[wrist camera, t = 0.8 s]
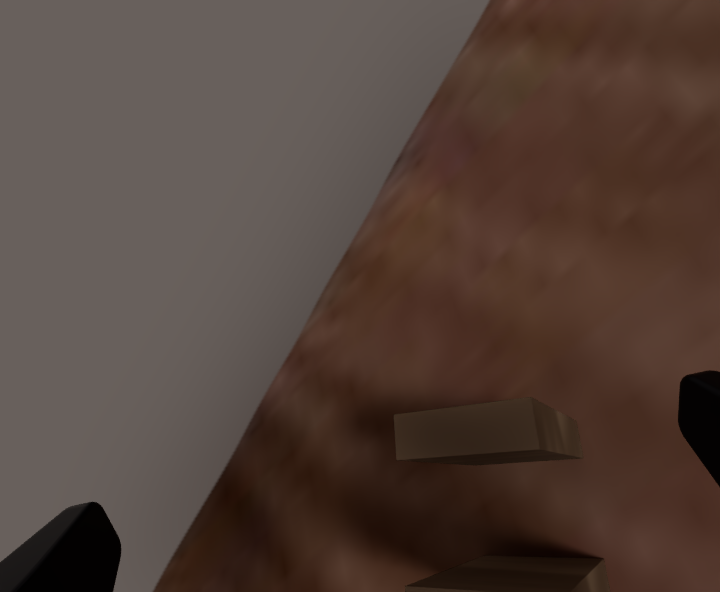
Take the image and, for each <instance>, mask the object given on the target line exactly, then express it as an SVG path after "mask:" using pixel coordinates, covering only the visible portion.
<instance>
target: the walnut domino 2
mask: <svg viewBox="0 0 720 592" xmlns="http://www.w3.org/2000/svg"><path fill="white" fill-rule="evenodd" d="M405 592H610V587H609V582H608V577H607V572H606V567H605V562H604V559H596V558H559V557H522V556H482V557H480V558H477V559H474V560H472V561H469V562H467V563H464V564H461V565H459V566H456V567H454V568H451V569H449V570H446V571H443V572H441V573H438V574H436V575H433V576H430V577H428V578H425V579H423V580H420V581H417V582H415V583H412V584H410V585H407V586H405Z"/></svg>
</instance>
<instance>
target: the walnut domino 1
mask: <svg viewBox="0 0 720 592" xmlns="http://www.w3.org/2000/svg"><path fill="white" fill-rule="evenodd" d="M394 429H395V445H396V460H400V461H416V462H431V463H446V464H461V465H487V464H503V463H518V462H533V461H549V460H564V459H579V458H583V453H582V448H581V442H580V437H579V432H578V427H577V422H576V420H574V419H572V418H570V417H568V416H566V415H564V414H562V413H560V412H558V411H557V410H555V409H553V408H551V407H549V406H547V405H545V404H543V403H541V402H539V401H537V400H536V399H534V398H532V397H528V398H520V399H512V400H504V401H496V402H488V403H481V404H473V405H465V406H457V407H449V408H442V409H434V410H426V411H418V412H410V413H402V414H395V415H394Z"/></svg>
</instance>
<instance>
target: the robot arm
mask: <svg viewBox="0 0 720 592" xmlns="http://www.w3.org/2000/svg"><path fill="white" fill-rule="evenodd" d="M678 423H679V427H680V430H681V432H682V434H683V436H684V438H685V439H686V441H687V442H688V443H689V445H690V446H691V448H692V449H693V450H694V452H695V453H696V455H697V456H698V457H699V459H700V460H701V462H702V463H703V464H704V466H705V467H706V469H707V470H708V471H709V473H710V474H711V476H712V477H713V478H714V480H715V481H716V482H717V484H718V485H719V487H720V372H718V371H712V370H709V371H703V372H699V373H694V374H689V375H686V376H685V377H683V378H682V380H681V382H680V392H679V410H678ZM120 557H121V543H120V539H119V537H118V535H117V534H116V531H115V530H114V528H113V526H112V524H111V522H110V520H109V518H108V517H107V515H106V513H105V511H104V509H103V508H102V507H101V505H100V504H98V503H97V502H89V503H84V504H79V505H75V506H71V507H68V508H67V509H65V510H64V511H62V512H61V513H60V514H59V515H58V516H56V517H55V518H54V519H53V520H51V521H50V522H49V523H48V524H47V525H45V526H44V527H43V528H42V529H40V530H39V531H38V532H37V533H36V534H34V535H33V536H32V537H31V538H29V539H28V540H27V541H26V542H24V544H22V545H21V546H20V547H19V548H17V549H16V550H15V551H13V552H12V553H11V554H10V555H9V556H7V557H6V558H5V559H4V560H3V561H1V562H0V592H113V589H114V585H115V580H116V575H117V571H118V566H119V562H120Z"/></svg>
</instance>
